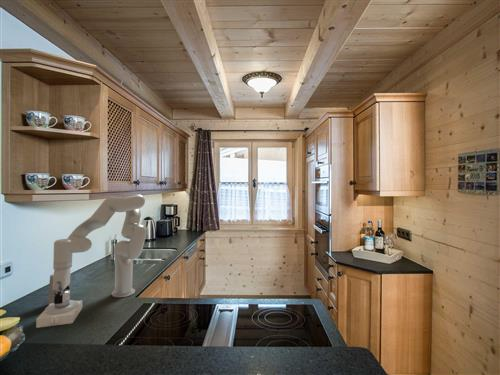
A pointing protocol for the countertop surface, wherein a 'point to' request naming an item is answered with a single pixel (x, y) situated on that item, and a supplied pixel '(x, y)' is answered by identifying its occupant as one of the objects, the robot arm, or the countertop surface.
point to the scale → (59, 314)
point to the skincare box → (51, 292)
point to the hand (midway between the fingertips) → (62, 299)
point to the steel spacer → (64, 299)
